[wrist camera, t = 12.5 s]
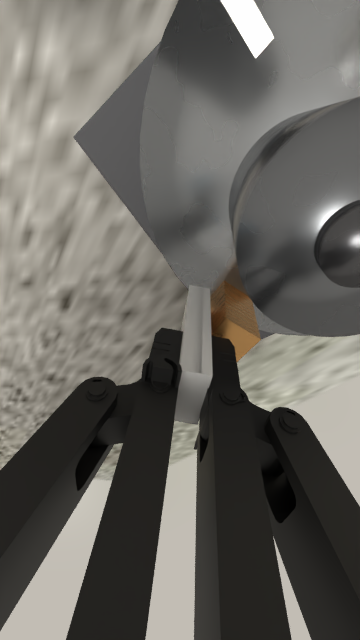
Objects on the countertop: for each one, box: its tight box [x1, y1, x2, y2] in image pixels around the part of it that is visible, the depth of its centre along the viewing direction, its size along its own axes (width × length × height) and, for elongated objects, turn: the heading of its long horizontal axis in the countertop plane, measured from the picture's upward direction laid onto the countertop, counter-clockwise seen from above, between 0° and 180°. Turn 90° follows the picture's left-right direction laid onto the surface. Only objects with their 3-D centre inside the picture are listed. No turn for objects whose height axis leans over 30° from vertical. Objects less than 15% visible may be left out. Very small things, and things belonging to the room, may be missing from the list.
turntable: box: [140, 0, 360, 361], centre depth 11 cm, size 18×18×6 cm
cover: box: [228, 96, 360, 337], centre depth 10 cm, size 7×7×7 cm
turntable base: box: [74, 42, 274, 339], centre depth 14 cm, size 20×18×2 cm
